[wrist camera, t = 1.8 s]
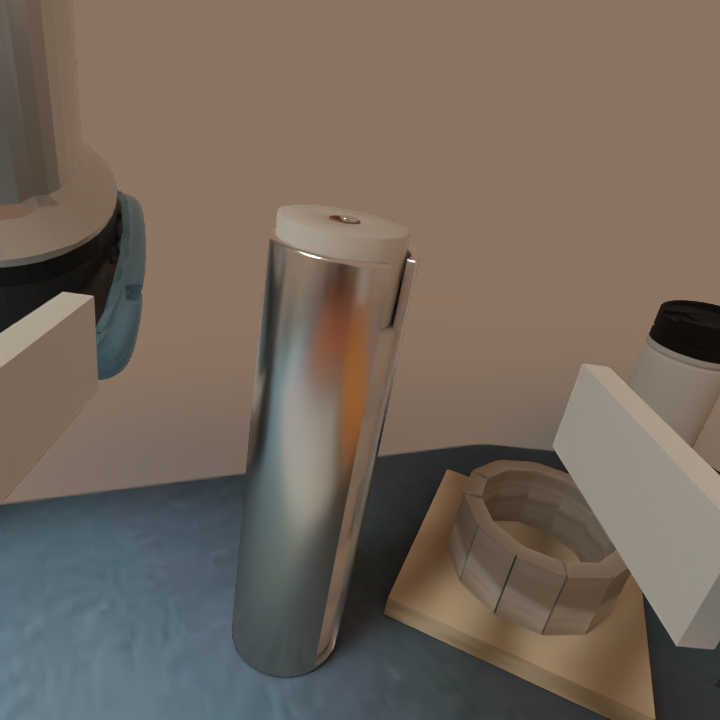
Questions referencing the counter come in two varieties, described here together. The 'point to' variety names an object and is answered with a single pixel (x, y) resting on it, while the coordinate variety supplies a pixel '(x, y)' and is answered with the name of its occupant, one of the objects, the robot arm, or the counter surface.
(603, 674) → the collar
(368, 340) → the metal cylinder
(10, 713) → the counter surface
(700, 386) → the travel mug
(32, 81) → the robot arm
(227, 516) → the counter surface
